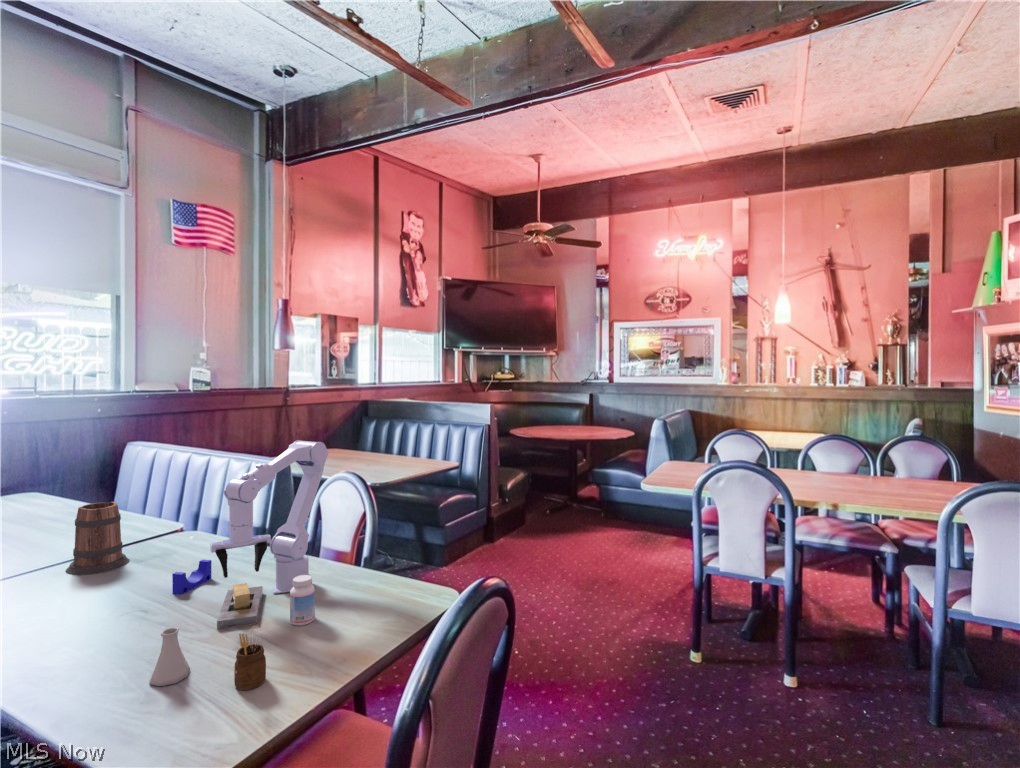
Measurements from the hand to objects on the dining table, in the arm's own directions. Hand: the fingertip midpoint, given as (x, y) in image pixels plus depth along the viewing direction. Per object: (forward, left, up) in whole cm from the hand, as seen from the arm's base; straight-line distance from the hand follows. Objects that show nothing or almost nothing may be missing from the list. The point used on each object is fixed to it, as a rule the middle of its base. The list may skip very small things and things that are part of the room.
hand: (241, 573), depth 145 cm
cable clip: (+16, -22, -10) cm, 30 cm away
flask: (+10, +31, -10) cm, 34 cm away
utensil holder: (-6, +39, -10) cm, 40 cm away
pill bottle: (-16, +13, -10) cm, 22 cm away
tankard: (+49, -53, -10) cm, 74 cm away
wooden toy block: (0, +1, -10) cm, 10 cm away
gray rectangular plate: (0, +1, -10) cm, 10 cm away
